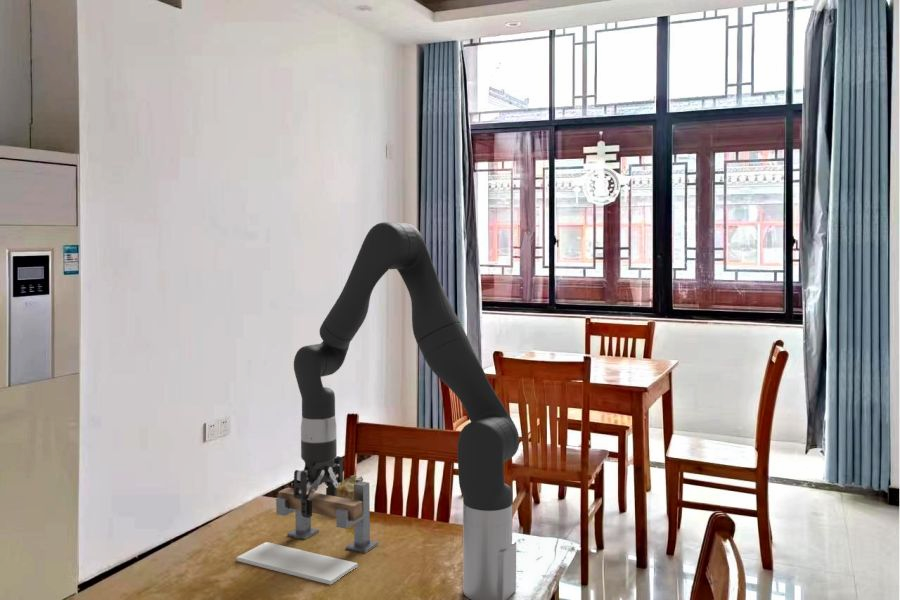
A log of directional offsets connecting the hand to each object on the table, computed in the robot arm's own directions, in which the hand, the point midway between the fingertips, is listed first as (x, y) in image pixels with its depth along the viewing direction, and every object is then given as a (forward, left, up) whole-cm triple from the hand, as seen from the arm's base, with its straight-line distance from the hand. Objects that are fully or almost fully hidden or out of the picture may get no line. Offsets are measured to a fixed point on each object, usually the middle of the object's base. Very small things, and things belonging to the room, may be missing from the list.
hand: (319, 510), depth 160 cm
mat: (-1, +9, -8) cm, 12 cm away
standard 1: (+8, -2, -8) cm, 11 cm away
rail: (0, 0, 0) cm, 0 cm away
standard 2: (-8, -2, -8) cm, 12 cm away
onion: (+9, -23, -8) cm, 26 cm away
